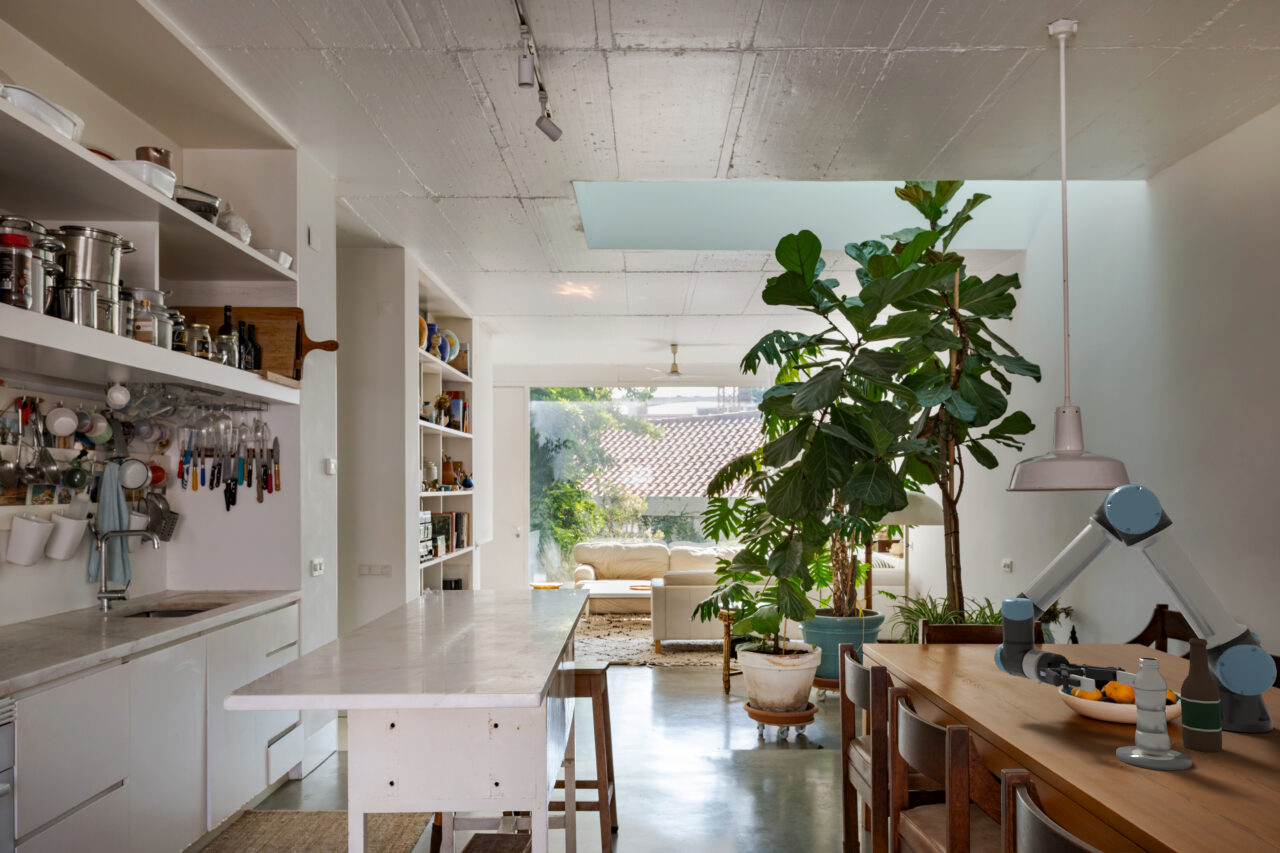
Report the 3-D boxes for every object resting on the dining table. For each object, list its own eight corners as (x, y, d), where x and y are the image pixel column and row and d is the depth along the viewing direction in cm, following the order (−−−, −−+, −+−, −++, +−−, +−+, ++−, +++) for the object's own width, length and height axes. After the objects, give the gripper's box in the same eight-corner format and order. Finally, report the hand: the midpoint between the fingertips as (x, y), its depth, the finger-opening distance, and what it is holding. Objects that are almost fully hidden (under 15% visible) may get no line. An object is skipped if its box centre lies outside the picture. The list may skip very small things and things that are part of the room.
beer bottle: (1218, 745, 208) (1213, 637, 210) (1227, 754, 201) (1222, 642, 203) (1178, 742, 211) (1174, 635, 213) (1186, 750, 204) (1182, 640, 205)
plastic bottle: (1176, 759, 192) (1171, 662, 194) (1140, 757, 194) (1136, 660, 195) (1165, 751, 199) (1161, 656, 200) (1130, 749, 200) (1127, 655, 201)
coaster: (1184, 755, 200) (1184, 749, 200) (1198, 773, 187) (1197, 766, 187) (1112, 748, 205) (1112, 743, 205) (1121, 766, 192) (1120, 759, 192)
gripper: (1088, 679, 229) (1161, 697, 209) (1006, 686, 221) (1073, 705, 201) (1087, 649, 230) (1159, 663, 210) (1005, 655, 222) (1072, 670, 202)
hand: (1118, 684), depth 205 cm, fingers open, 13 cm apart
